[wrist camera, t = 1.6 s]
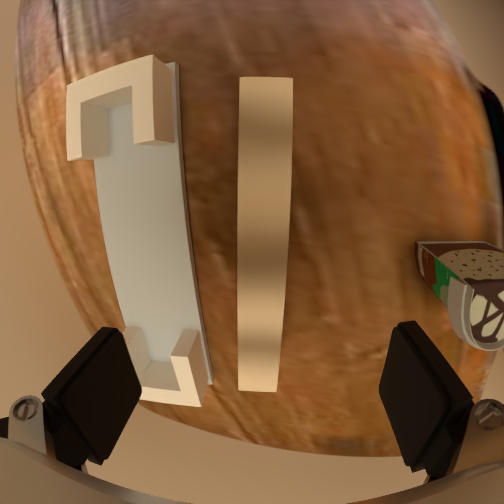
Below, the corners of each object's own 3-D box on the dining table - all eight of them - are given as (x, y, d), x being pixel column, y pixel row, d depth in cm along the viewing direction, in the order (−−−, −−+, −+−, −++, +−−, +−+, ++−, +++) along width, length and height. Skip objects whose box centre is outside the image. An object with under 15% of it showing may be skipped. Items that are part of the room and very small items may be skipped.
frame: (98, 88, 19) (65, 77, 14) (178, 65, 18) (156, 43, 13) (146, 372, 28) (130, 402, 23) (214, 378, 27) (205, 412, 22)
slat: (248, 99, 19) (239, 76, 14) (287, 100, 19) (292, 78, 13) (244, 346, 26) (238, 390, 20) (276, 348, 26) (276, 391, 20)
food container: (392, 305, 23) (440, 372, 14) (401, 241, 22) (467, 290, 12) (481, 294, 22) (534, 339, 13) (492, 240, 21) (555, 275, 11)
